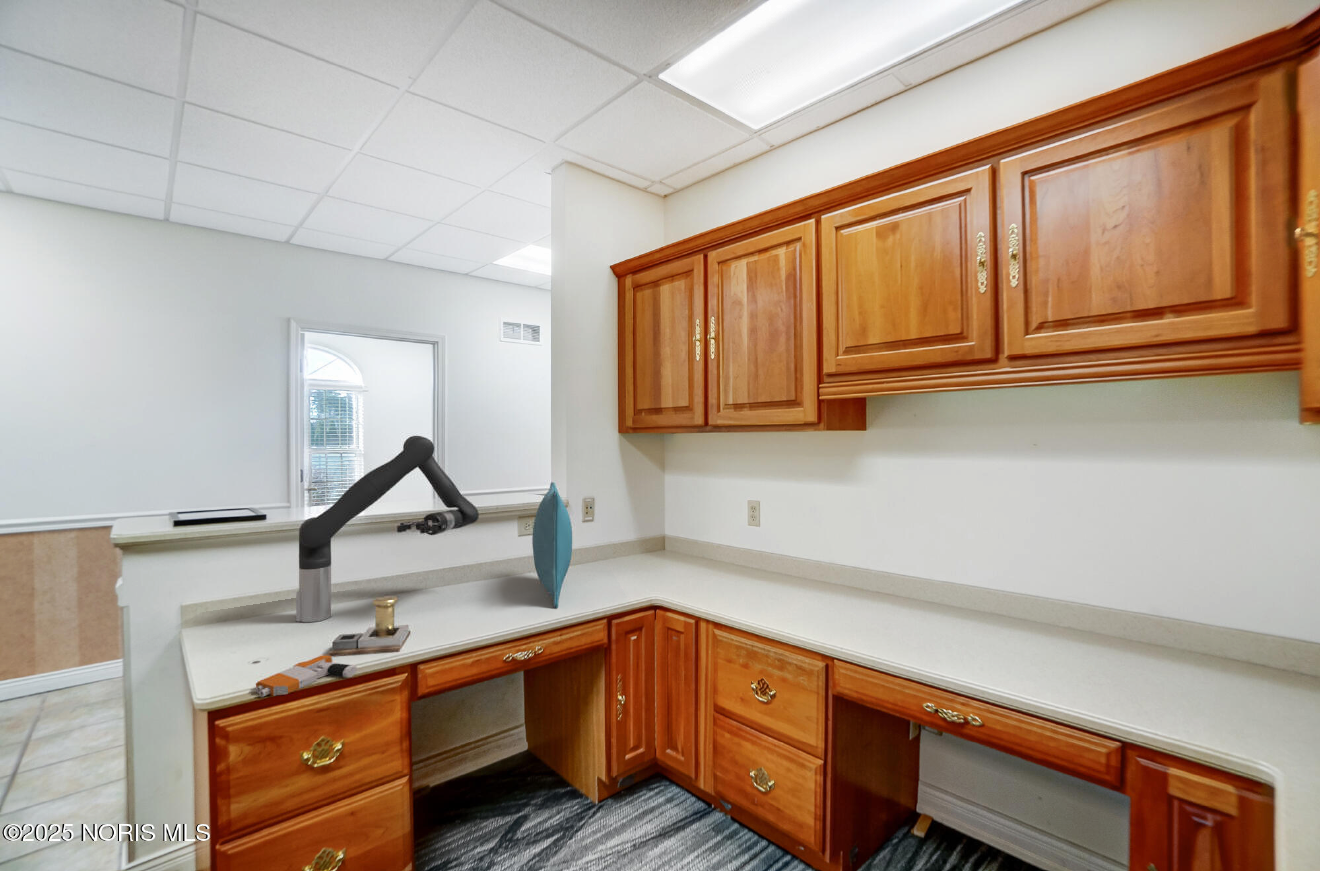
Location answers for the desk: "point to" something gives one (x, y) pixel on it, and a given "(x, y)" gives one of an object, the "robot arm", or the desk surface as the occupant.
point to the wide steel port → (383, 638)
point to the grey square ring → (346, 642)
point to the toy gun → (303, 675)
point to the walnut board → (368, 650)
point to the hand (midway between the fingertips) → (409, 529)
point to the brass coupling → (384, 615)
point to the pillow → (552, 542)
